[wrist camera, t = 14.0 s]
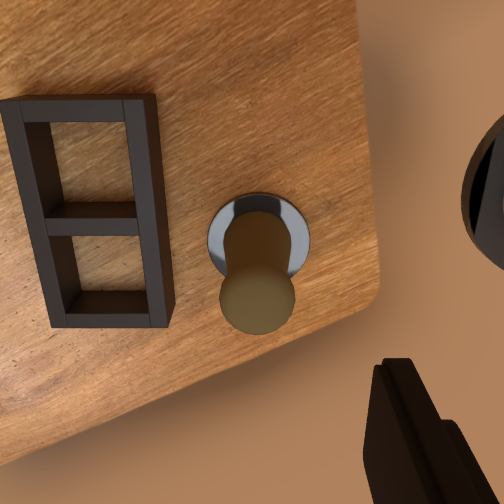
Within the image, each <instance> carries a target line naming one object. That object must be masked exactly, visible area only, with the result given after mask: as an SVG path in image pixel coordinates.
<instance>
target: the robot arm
mask: <svg viewBox="0 0 504 504" xmlns="http://www.w3.org/2000/svg"><path fill="white" fill-rule="evenodd" d="M503 213H504V195H503ZM363 461H364V467H365V471H366V475H367V479H368V483H369V487H370V491H371V495H372V498H373V503H374V504H500V503H499V502H498V500H497V498H496V496H495V494H494V492H493V490H492V488H491V486H490V485H489V483H488V481H487V479H486V477H485V475H484V473H483V472H482V470H481V468H480V466H479V464H478V462H477V460H476V458H475V456H474V455H473V453H472V451H471V449H470V447H469V445H468V443H467V441H466V440H465V438H464V436H463V434H462V432H461V430H460V428H459V427H458V425H457V424H456V423H455V422H454V421H453V420H441V418H440V416H439V414H438V412H437V410H436V408H435V406H434V404H433V402H432V400H431V398H430V396H429V394H428V392H427V390H426V388H425V386H424V384H423V382H422V380H421V378H420V376H419V374H418V372H417V370H416V368H415V366H414V364H413V362H412V360H411V359H409V358H384V359H383V361H382V365H375V366H374V370H373V377H372V386H371V393H370V400H369V408H368V416H367V423H366V431H365V438H364V446H363Z"/></svg>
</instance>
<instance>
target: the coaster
mask: <svg viewBox="0 0 504 504" xmlns="http://www.w3.org/2000/svg"><path fill="white" fill-rule="evenodd" d="M256 211H261V212H266V213H270V214H272V215H274V216H276V217H278V218H279V219H280V220H281V221H282V222H283V223H284V224H285V225H286V226H287V228H288V230H289V232H290V234H291V242H292V247H291V254H290V261H289V267H288V274H287V275H288V276H289V278H291V277H293V276H294V275H295V274H296V273H297V272H298V271H299V270H300V268H301V267H302V266H303V264H304V262H305V261H306V258H307V256H308V252H309V248H310V235H309V229H308V226H307V223H306V221H305V219H304V217H303V216H302V214H301V213H300V211H299V210H298V209H297V208H296V207H295V206H294V205H292V204H291V203H290V202H288V201H287V200H285V199H283V198H281V197H279V196H276V195H273V194H268V193H250V194H245V195H242V196H239V197H236V198H234V199H232V200H231V201H229V202H228V203H226V204H225V205H224V206H223V207H222V208H221V209H220V210H219V211H218V212H217V214H216V215H215V217H214V218H213V220H212V222H211V225H210V228H209V232H208V242H207V244H208V251H209V254H210V257H211V259H212V262H213V263H214V265H215V267H216V268H217V269H218V270H219V272H220V273H222V274H223V275H224V276H225V277H226V276H227V268H226V261H225V254H224V247H223V239H224V233H225V231H226V229H227V228H228V226H229V224H230V223H231V222H232V221H233V220H235V219H236V218H237V217H238V216H241V215H243V214H245V213H247V212H256Z"/></svg>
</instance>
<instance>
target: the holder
mask: <svg viewBox="0 0 504 504" xmlns="http://www.w3.org/2000/svg"><path fill="white" fill-rule="evenodd" d="M0 113H1V117H2V121H3V126H4V130H5V134H6V138H7V142H8V147H9V151H10V155H11V159H12V163H13V168H14V172H15V176H16V180H17V185H18V189H19V193H20V197H21V201H22V206H23V210H24V214H25V218H26V223H27V227H28V231H29V235H30V239H31V244H32V248H33V252H34V256H35V261H36V265H37V269H38V273H39V277H40V282H41V286H42V290H43V294H44V298H45V303H46V307H47V311H48V315H49V320H50V324H51V328H168V326H169V323H170V320H171V316H172V313H173V310H174V307H175V293H174V283H173V272H172V262H171V251H170V241H169V230H168V220H167V209H166V199H165V188H164V178H163V167H162V157H161V146H160V136H159V125H158V115H157V104H156V95H155V94H77V95H23V96H18V97H13V98H8V99H3V100H0ZM124 121H125V125H126V133H127V141H128V149H129V157H130V165H131V173H132V181H133V189H134V197H135V202H65V203H64V198H63V193H62V188H61V183H60V178H59V172H58V167H57V162H56V157H55V152H54V147H53V142H52V137H51V131H50V126H49V122H124ZM131 235H139V237H140V245H141V253H142V261H143V269H144V277H145V284H146V291H82V290H81V285H80V280H79V275H78V270H77V265H76V260H75V254H74V249H73V244H72V239H71V236H131Z"/></svg>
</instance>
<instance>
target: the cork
mask: <svg viewBox="0 0 504 504" xmlns="http://www.w3.org/2000/svg"><path fill="white" fill-rule="evenodd" d="M223 247H224V254H225V261H226V268H227V276H226V278H225V279H224V281H223V283H222V285H221V290H220V296H219V301H220V307H221V310H222V313H223V315H224V316H225V318H226V320H227V321H228V322H229V323H230V324H231V325H232V326H233V327H234V328H236V329H238V330H240V331H242V332H244V333H246V334H252V335H263V334H268V333H270V332H273V331H276V330H277V329H279V328H280V327H281V326H283V325H284V324H285V323H286V322H287V320H288V319H289V318H290V316H291V315H292V312H293V308H294V304H295V291H294V286H293V284H292V282H291V280H290V278H289V276H288V275H287V274H288V267H289V261H290V254H291V247H292V242H291V234H290V232H289V230H288V228H287V226H286V225H285V224H284V223H283V222H282V221H281V220H280V219H279V218H278V217H276V216H274V215H272V214H270V213H266V212H261V211H256V212H247V213H245V214H243V215H241V216H238V217H237V218H236V219H235V220H233V221H232V222H231V223H230V224H229V226H228V228H227V229H226V231H225V233H224V239H223Z"/></svg>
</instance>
